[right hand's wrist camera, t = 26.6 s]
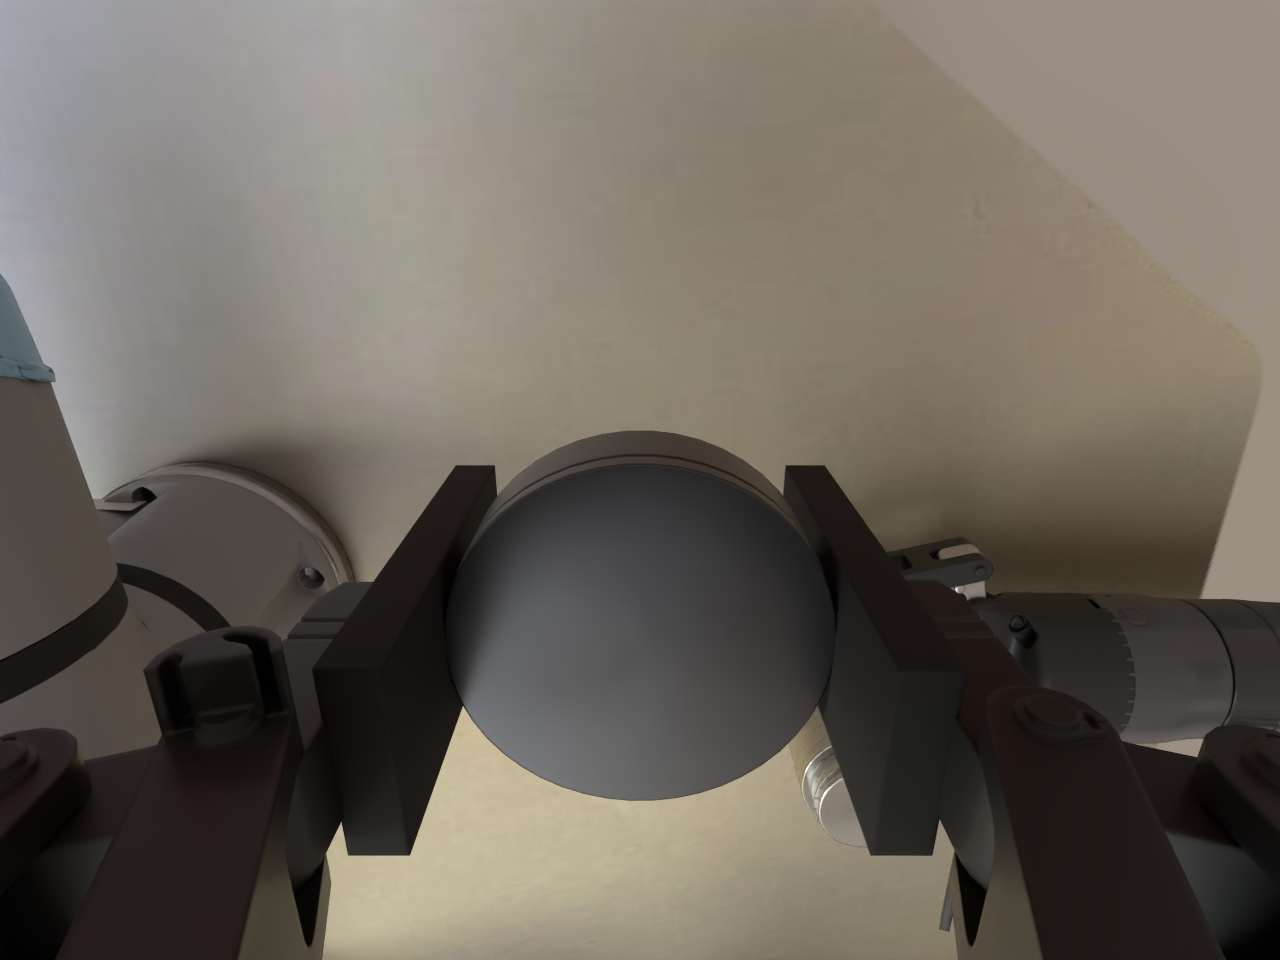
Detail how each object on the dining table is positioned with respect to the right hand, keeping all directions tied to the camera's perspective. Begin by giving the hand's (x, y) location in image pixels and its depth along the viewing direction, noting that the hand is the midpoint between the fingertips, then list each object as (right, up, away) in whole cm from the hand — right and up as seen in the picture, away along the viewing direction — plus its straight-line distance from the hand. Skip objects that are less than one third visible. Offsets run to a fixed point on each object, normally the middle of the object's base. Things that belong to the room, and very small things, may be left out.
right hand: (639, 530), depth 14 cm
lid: (0, -1, -4) cm, 4 cm away
